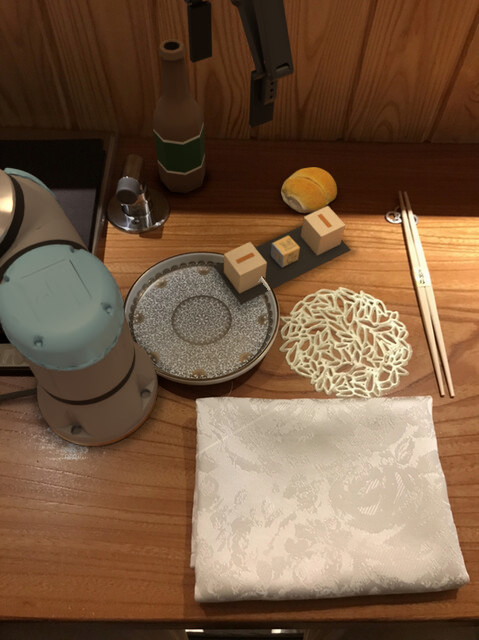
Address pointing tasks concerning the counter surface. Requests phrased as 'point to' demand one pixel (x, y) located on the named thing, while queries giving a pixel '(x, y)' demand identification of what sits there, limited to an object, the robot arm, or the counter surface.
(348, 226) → the counter surface
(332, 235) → the beige wooden block
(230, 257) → the small cardboard box
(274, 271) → the word mat
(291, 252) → the alphabet block
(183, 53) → the beer bottle
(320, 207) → the bread roll
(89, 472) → the counter surface
